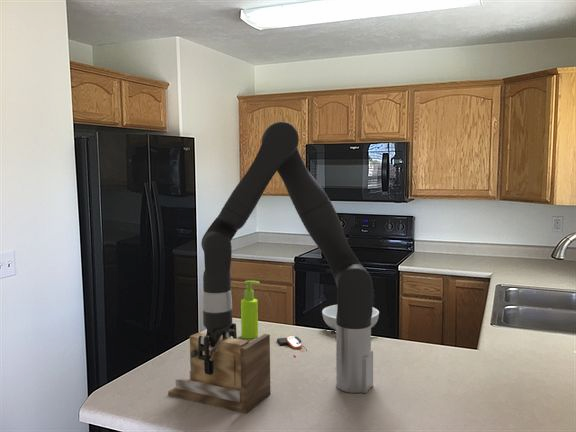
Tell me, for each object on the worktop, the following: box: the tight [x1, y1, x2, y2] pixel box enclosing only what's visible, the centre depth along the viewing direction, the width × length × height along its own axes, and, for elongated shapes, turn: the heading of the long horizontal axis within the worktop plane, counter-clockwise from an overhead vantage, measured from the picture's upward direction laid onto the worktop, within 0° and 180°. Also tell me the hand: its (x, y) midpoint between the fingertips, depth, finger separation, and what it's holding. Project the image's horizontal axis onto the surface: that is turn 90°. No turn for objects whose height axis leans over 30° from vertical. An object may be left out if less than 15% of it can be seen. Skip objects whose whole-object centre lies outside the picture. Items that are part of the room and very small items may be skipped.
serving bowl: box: [321, 304, 380, 331], centre depth 190 cm, size 21×21×7 cm
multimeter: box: [276, 335, 308, 358], centre depth 170 cm, size 18×12×3 cm, turn 12°
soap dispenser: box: [240, 280, 261, 340], centre depth 181 cm, size 6×7×20 cm
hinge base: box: [167, 333, 271, 414], centre depth 134 cm, size 24×12×16 cm, turn 63°
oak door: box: [189, 332, 250, 391], centre depth 133 cm, size 17×5×14 cm, turn 64°
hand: (218, 368), depth 134 cm, fingers open, 8 cm apart
